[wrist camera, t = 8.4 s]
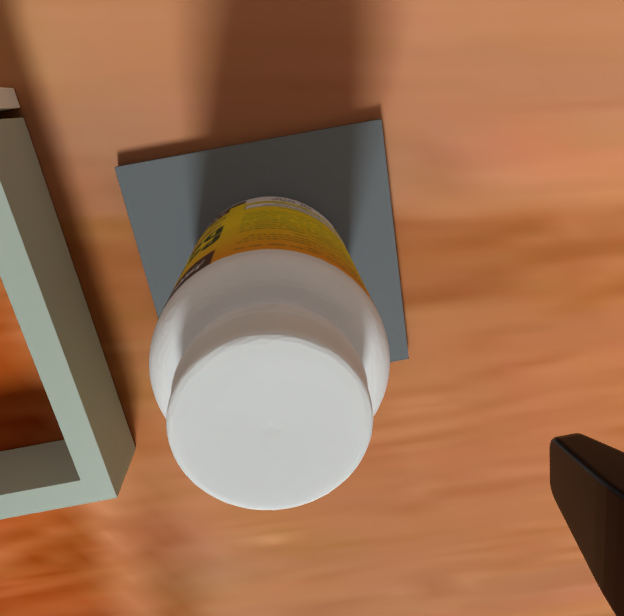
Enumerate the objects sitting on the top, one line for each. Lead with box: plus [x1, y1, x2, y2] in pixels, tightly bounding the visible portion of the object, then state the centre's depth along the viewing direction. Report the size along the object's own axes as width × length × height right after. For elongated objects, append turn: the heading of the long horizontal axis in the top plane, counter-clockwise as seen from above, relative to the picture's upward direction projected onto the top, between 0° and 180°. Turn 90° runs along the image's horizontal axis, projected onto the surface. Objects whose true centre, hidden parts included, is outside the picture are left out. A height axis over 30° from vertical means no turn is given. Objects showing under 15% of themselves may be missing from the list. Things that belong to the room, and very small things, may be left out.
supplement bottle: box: [149, 196, 390, 510], centre depth 15 cm, size 6×6×10 cm
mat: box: [115, 119, 409, 362], centre depth 20 cm, size 9×9×1 cm
